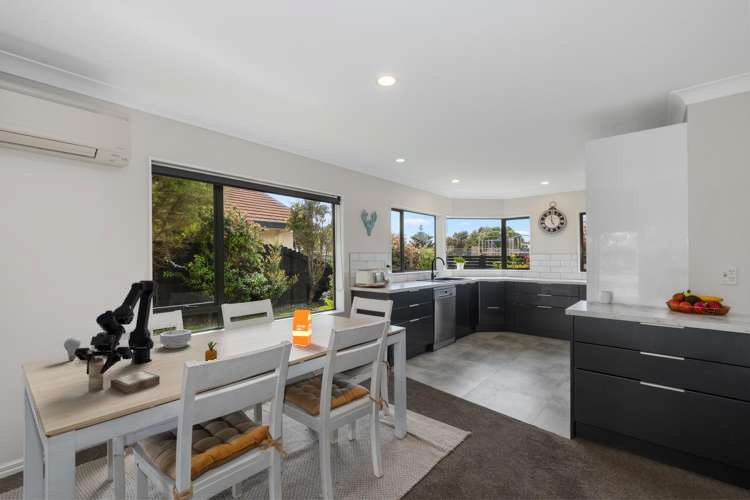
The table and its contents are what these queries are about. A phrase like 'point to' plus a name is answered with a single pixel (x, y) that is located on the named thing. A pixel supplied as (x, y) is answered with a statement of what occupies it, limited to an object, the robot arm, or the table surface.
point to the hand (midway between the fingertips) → (94, 373)
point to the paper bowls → (175, 338)
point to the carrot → (211, 352)
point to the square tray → (134, 382)
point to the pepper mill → (95, 375)
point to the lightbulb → (72, 347)
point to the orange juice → (302, 327)
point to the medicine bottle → (96, 349)
